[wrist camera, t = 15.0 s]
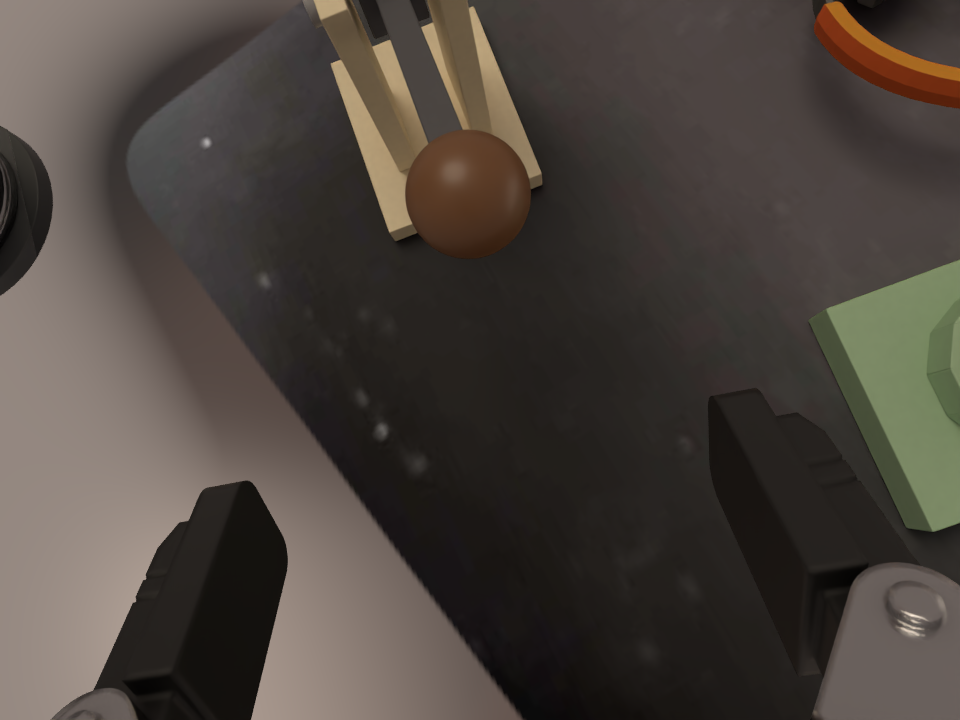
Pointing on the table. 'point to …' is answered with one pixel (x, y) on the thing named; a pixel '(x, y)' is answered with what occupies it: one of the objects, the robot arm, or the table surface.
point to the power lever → (451, 152)
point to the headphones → (883, 58)
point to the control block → (905, 387)
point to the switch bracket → (390, 109)
